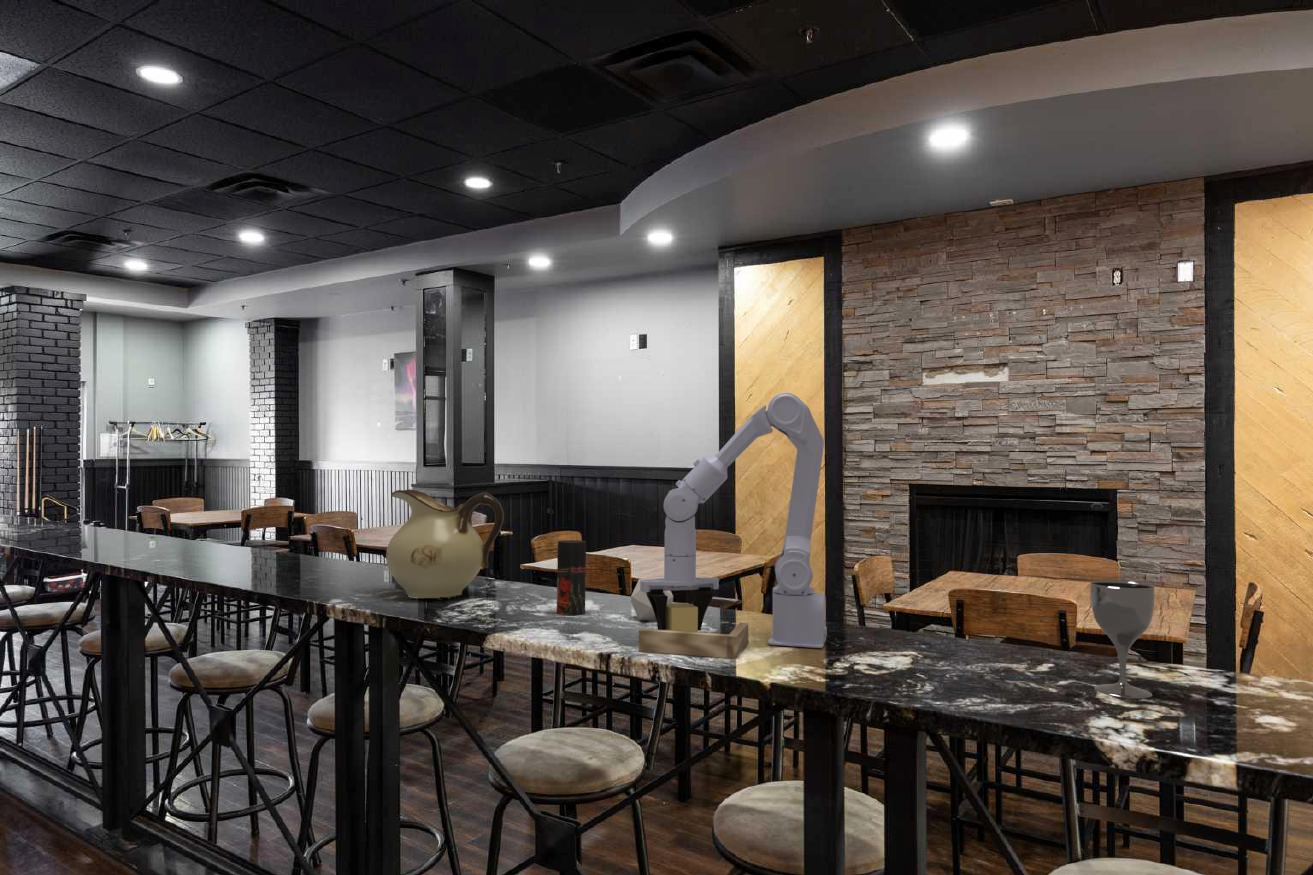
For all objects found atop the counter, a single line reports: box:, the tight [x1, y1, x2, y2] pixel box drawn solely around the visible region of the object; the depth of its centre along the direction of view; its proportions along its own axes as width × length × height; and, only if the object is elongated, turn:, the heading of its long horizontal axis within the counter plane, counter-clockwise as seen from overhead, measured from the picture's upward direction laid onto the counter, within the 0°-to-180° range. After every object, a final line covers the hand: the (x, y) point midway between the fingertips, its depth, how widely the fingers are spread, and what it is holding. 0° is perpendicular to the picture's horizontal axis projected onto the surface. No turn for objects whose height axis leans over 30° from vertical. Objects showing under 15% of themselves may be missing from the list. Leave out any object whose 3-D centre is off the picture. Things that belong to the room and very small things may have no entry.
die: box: [630, 578, 674, 621], centre depth 167 cm, size 8×9×10 cm
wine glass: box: [1089, 579, 1156, 699], centre depth 116 cm, size 8×8×15 cm
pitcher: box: [385, 488, 505, 598], centre depth 194 cm, size 22×24×25 cm
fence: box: [638, 622, 749, 659], centre depth 141 cm, size 16×12×4 cm
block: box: [666, 602, 698, 632], centre depth 148 cm, size 5×5×6 cm
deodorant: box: [556, 539, 587, 616], centre depth 173 cm, size 6×6×15 cm
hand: (679, 630), depth 148 cm, fingers open, 6 cm apart
